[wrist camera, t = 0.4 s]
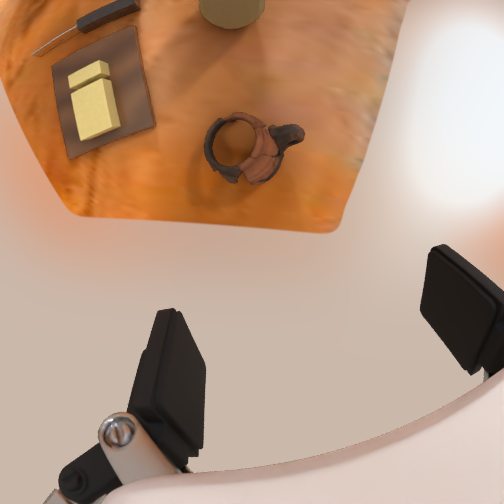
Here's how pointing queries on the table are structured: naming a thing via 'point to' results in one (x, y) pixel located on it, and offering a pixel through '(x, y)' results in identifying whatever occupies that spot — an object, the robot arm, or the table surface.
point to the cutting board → (123, 83)
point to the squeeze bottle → (231, 12)
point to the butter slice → (88, 75)
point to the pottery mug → (255, 149)
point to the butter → (95, 109)
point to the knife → (93, 22)
